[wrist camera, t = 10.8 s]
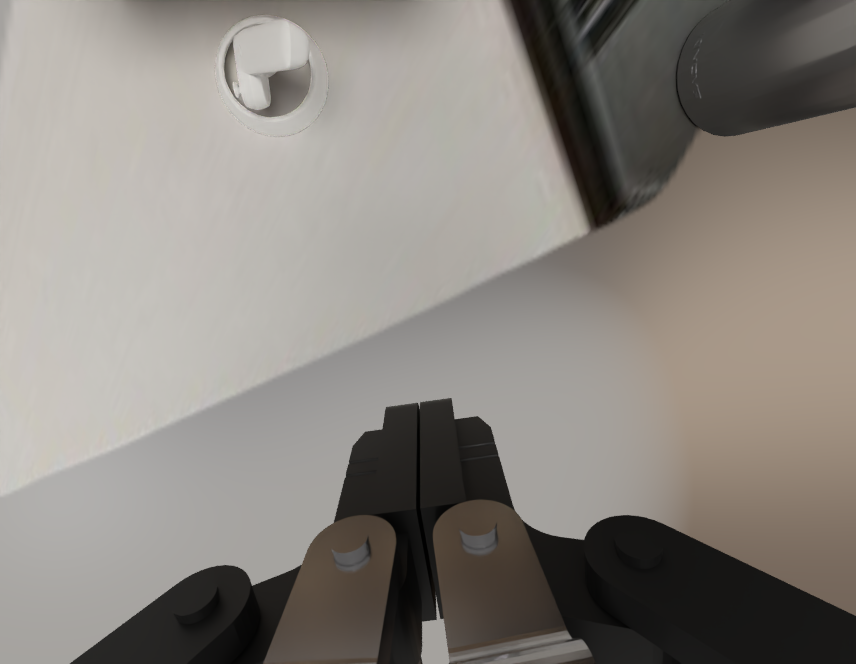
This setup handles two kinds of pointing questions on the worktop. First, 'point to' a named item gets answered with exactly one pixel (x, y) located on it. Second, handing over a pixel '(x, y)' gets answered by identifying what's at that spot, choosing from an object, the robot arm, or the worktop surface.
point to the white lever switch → (270, 72)
